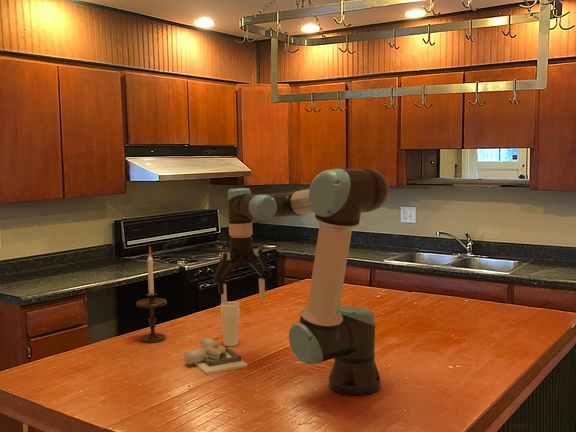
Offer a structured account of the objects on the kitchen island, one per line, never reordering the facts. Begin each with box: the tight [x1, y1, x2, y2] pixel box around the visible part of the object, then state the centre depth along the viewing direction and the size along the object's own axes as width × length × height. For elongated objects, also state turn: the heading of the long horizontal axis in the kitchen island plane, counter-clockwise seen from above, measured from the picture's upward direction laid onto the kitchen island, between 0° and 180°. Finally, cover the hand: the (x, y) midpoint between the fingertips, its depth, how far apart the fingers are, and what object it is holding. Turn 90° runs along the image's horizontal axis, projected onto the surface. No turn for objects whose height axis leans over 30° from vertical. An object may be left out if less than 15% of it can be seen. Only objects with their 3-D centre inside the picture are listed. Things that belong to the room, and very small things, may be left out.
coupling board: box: [183, 336, 248, 375], centre depth 199 cm, size 22×17×5 cm
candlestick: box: [136, 245, 168, 344], centre depth 222 cm, size 11×11×35 cm
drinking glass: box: [220, 301, 241, 347], centre depth 216 cm, size 7×7×15 cm
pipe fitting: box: [204, 345, 227, 360], centre depth 199 cm, size 8×4×7 cm
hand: (243, 301), depth 196 cm, fingers open, 13 cm apart
